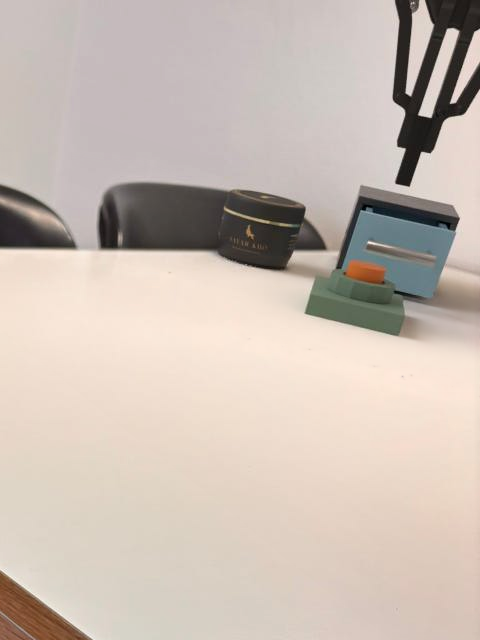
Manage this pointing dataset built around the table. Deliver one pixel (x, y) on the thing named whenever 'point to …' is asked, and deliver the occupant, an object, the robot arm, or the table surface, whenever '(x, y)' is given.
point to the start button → (366, 272)
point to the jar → (259, 228)
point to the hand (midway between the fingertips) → (402, 184)
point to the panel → (357, 302)
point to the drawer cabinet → (397, 204)
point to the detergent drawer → (402, 248)
